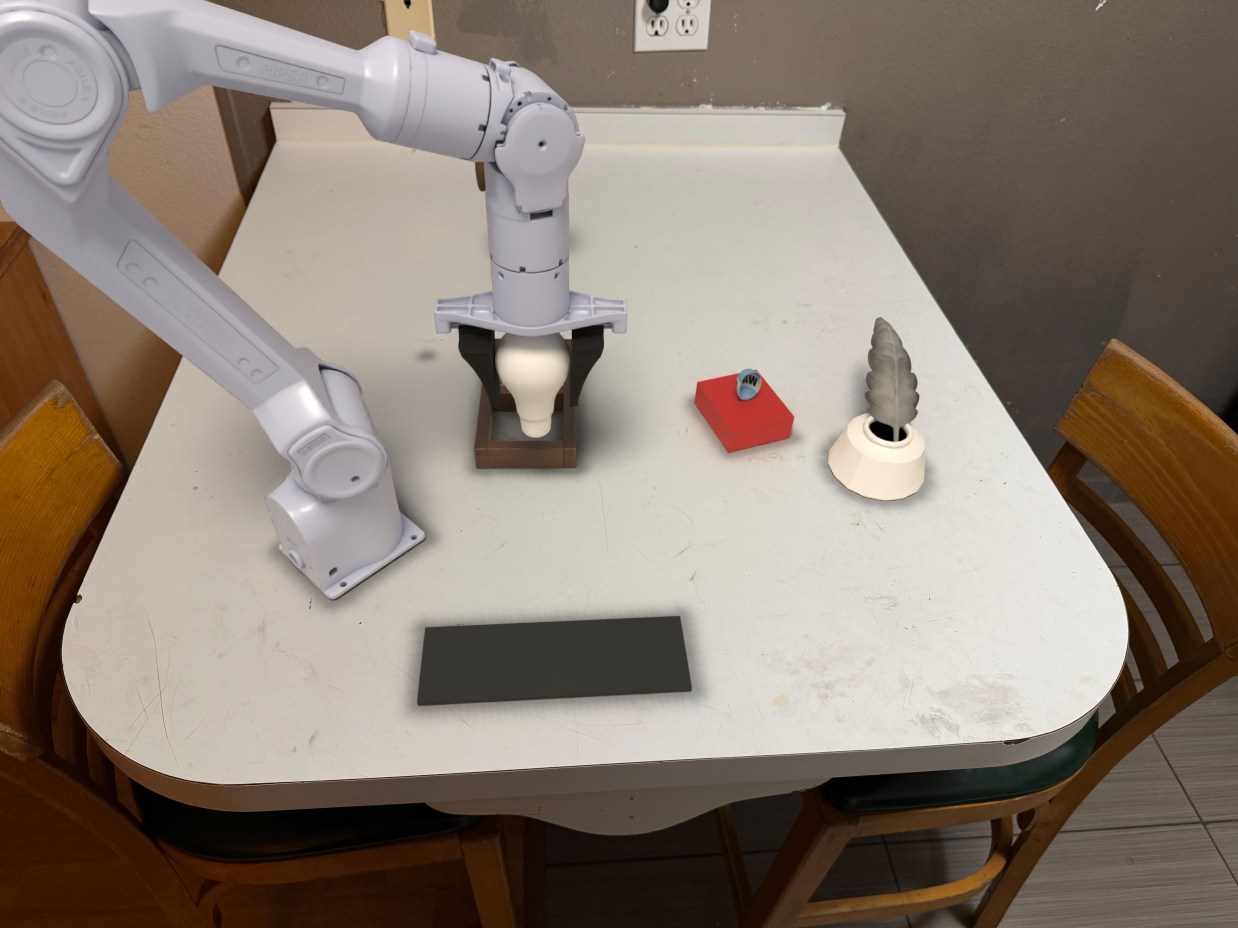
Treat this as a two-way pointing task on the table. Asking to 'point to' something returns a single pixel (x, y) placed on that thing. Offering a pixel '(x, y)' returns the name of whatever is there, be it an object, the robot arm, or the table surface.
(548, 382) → the lightbulb
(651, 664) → the mat
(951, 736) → the table surface
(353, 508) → the robot arm
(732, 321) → the table surface
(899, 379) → the inkwell
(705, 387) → the red slab
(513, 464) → the holder
